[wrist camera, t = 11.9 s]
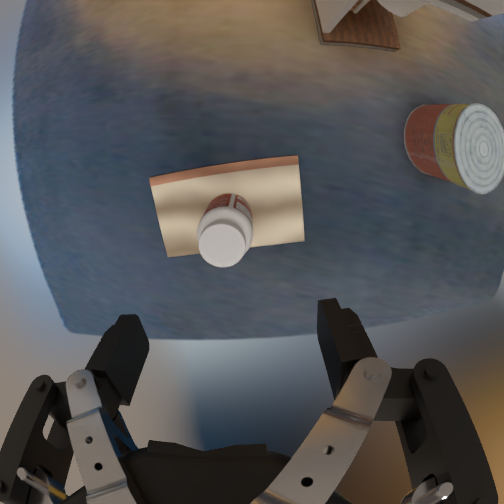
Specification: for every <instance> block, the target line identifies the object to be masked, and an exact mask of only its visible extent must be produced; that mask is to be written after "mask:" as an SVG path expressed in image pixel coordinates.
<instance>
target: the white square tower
mask: <svg viewBox="0 0 504 504" xmlns="http://www.w3.org/2000/svg"><path fill="white" fill-rule="evenodd" d="M311 2H312V6H313V11H314V15H315V19H316V24H317V29H318V34H319V39H320V44H321V45H341V46H354V47H364V48H372V49H380V50H387V51H393V52H395V51H397V50H399V49H401V48H400V44H399V39H398V35H397V31H396V27H395V23H394V20H393V16H392V13H393V14H394V15H397V16H400V17H405V16H407V15H409V14H410V13H412V12H414V11H416V10H417V9H419V8H421V7H423V6H424V5H426V4H430V5H433V6H436V7H438V8H441V9H443V10H446V11H448V12H451V13H453V14H456V15H458V16H460V17H462V18H465V19H467V20H469V21H471V22H472V21H475V20H479V19H482V18H486V17H489V16H493V15H497V14H502V13H504V0H311Z"/></svg>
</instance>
